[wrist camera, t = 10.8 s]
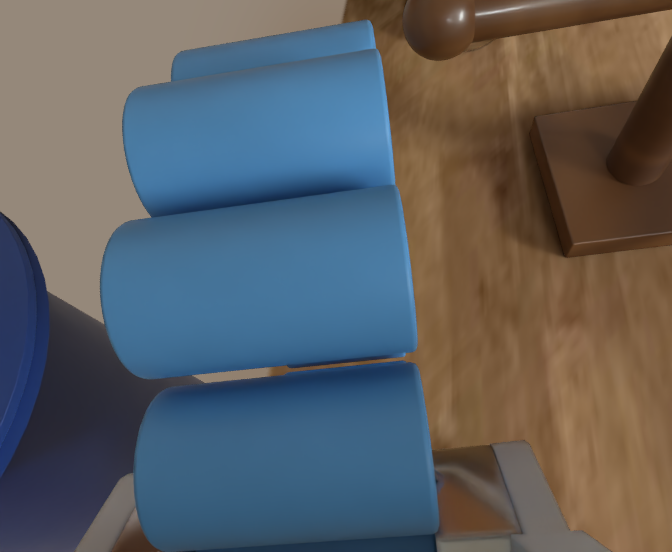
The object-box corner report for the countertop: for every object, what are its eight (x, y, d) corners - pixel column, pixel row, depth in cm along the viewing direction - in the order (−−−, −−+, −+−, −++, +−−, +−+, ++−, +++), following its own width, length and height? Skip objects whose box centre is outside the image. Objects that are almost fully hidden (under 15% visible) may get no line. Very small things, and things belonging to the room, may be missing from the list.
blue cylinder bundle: (432, 567, 11) (477, 723, 3) (301, 575, 12) (30, 739, 3) (388, 217, 15) (355, -122, 7) (289, 230, 16) (149, -80, 7)
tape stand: (419, 276, 26) (418, -2, 12) (400, 152, 30) (382, -179, 15) (734, 238, 25) (1170, -136, 10) (677, 111, 28) (945, -302, 14)
